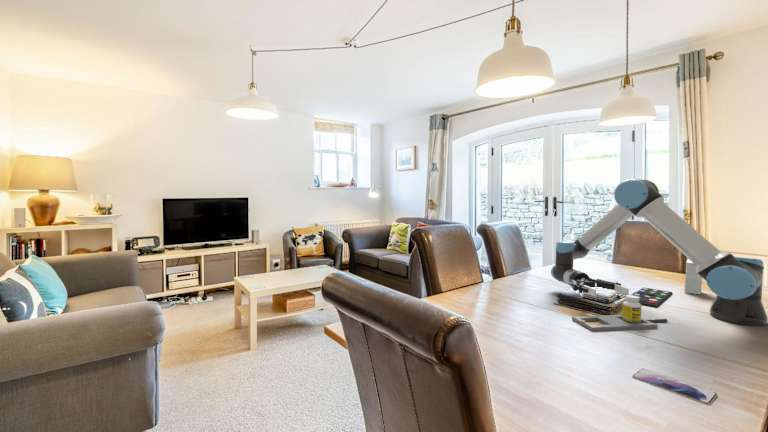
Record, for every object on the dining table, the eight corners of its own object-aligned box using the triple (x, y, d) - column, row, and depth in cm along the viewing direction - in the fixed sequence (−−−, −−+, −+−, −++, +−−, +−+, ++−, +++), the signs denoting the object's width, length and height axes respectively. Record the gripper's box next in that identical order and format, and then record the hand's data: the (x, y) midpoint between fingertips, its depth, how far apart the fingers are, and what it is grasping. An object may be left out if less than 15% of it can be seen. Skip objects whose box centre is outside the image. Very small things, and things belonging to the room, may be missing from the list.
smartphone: (709, 404, 77) (631, 376, 90) (709, 407, 77) (630, 379, 90) (718, 393, 81) (642, 367, 94) (718, 396, 81) (642, 370, 94)
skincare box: (684, 289, 172) (685, 259, 171) (701, 291, 168) (702, 260, 167) (684, 293, 165) (685, 261, 165) (701, 295, 161) (702, 263, 161)
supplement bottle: (632, 326, 124) (633, 299, 123) (618, 321, 129) (619, 294, 129) (644, 324, 125) (645, 297, 125) (630, 319, 131) (631, 293, 130)
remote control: (624, 303, 153) (624, 298, 153) (643, 290, 173) (643, 286, 173) (656, 309, 145) (656, 304, 144) (672, 295, 165) (672, 290, 164)
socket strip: (653, 316, 134) (653, 312, 134) (680, 327, 123) (680, 322, 123) (572, 319, 131) (572, 315, 131) (592, 331, 120) (592, 326, 120)
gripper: (602, 286, 159) (640, 301, 138) (549, 288, 157) (580, 302, 136) (603, 270, 159) (641, 282, 138) (550, 271, 157) (581, 283, 135)
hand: (611, 292), depth 137 cm, fingers open, 13 cm apart
